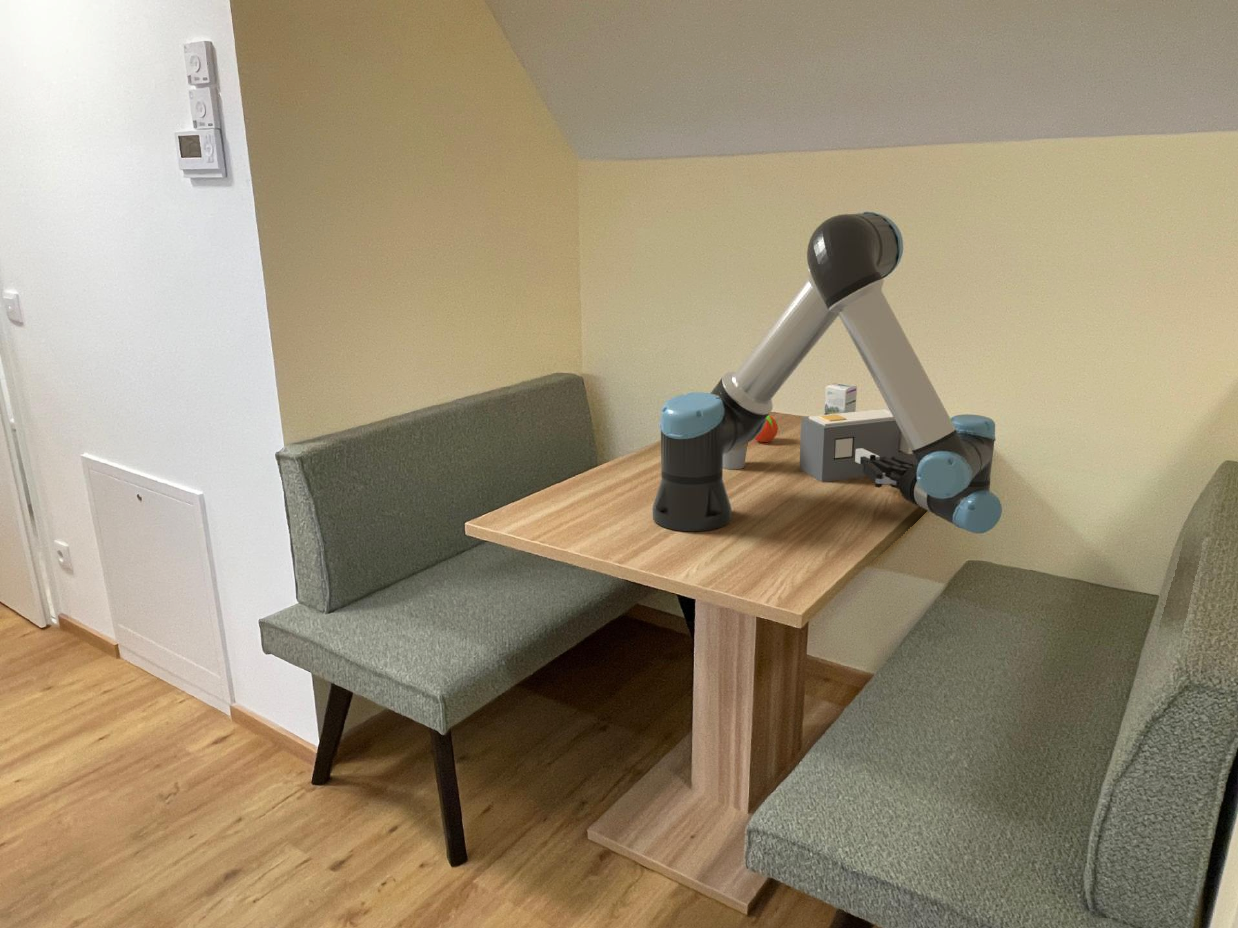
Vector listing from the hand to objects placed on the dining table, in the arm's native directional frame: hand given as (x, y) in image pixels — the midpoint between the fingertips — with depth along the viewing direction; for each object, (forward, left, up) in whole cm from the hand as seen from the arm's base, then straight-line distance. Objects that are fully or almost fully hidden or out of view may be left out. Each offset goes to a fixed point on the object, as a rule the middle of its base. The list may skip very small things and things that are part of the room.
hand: (858, 454), depth 183 cm
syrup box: (+34, +3, -7) cm, 35 cm away
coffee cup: (+11, +27, -7) cm, 31 cm away
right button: (+13, -11, -2) cm, 17 cm away
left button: (+7, +4, -2) cm, 9 cm away
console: (+13, -2, -7) cm, 15 cm away
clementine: (+32, +21, -7) cm, 39 cm away
